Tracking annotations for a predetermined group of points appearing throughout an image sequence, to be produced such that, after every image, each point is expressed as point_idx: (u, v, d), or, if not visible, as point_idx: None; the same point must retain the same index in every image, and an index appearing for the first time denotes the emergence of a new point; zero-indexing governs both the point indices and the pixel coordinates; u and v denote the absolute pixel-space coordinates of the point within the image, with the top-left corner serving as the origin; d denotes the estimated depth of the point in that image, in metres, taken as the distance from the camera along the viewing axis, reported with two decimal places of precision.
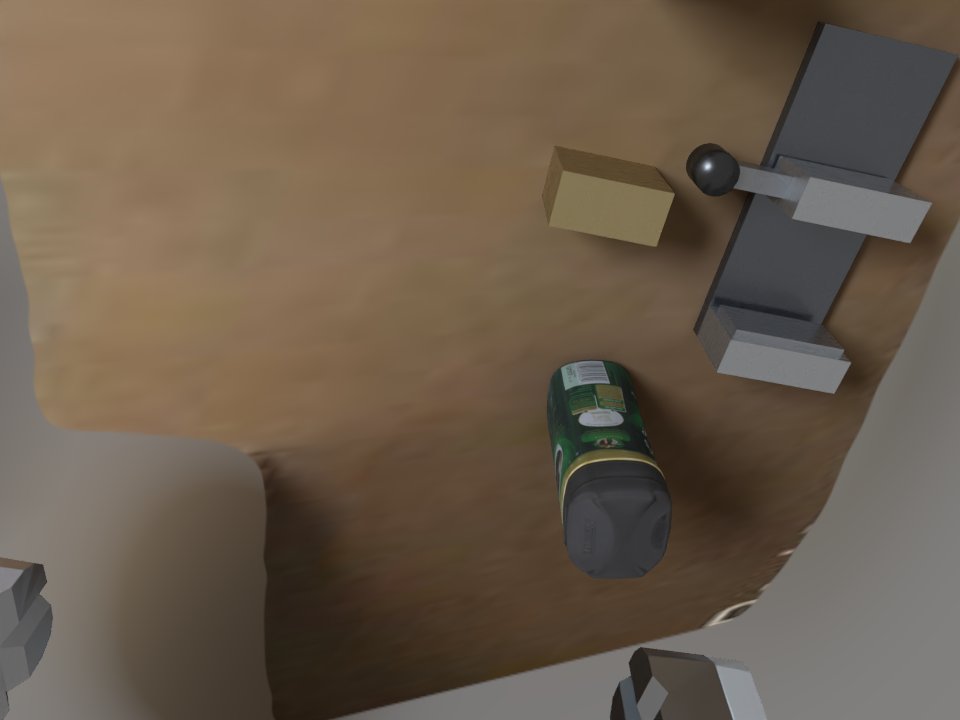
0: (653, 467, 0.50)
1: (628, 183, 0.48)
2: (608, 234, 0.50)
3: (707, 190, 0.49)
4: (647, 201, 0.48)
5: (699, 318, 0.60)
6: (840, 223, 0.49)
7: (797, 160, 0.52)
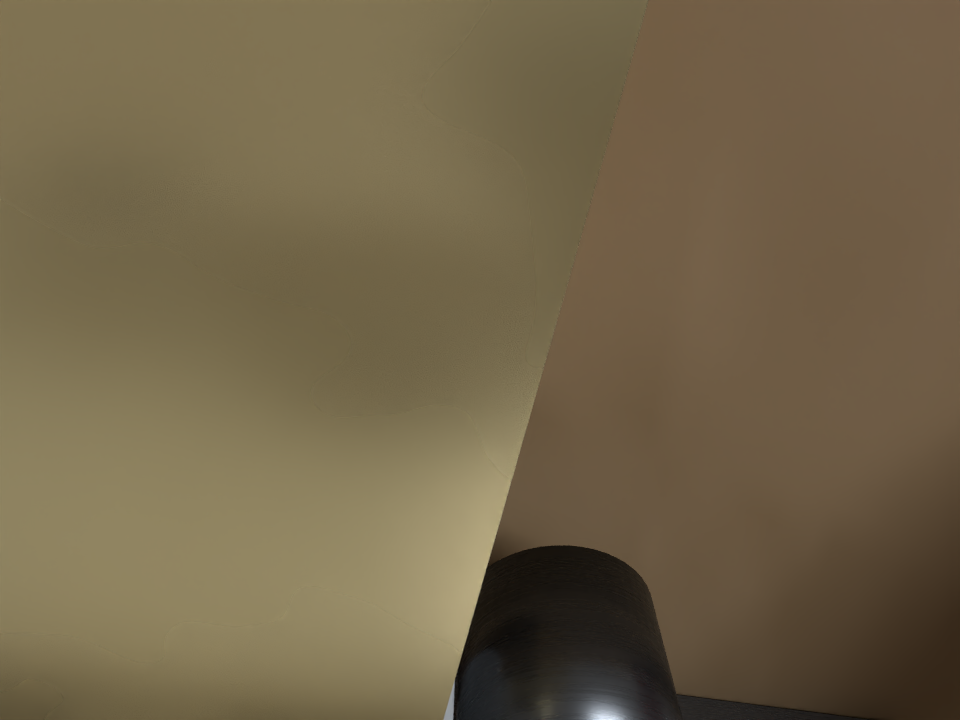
0: None
1: None
2: None
3: None
4: (330, 631, 0.04)
5: None
6: None
7: None
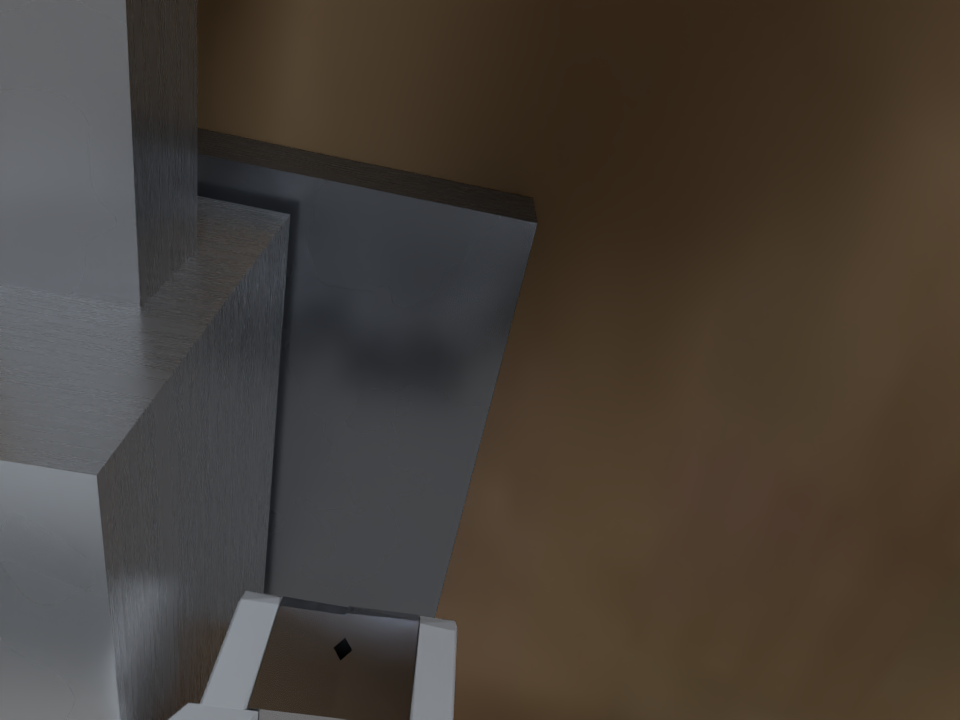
0: None
1: None
2: None
3: None
4: None
5: None
6: None
7: (276, 304, 0.10)
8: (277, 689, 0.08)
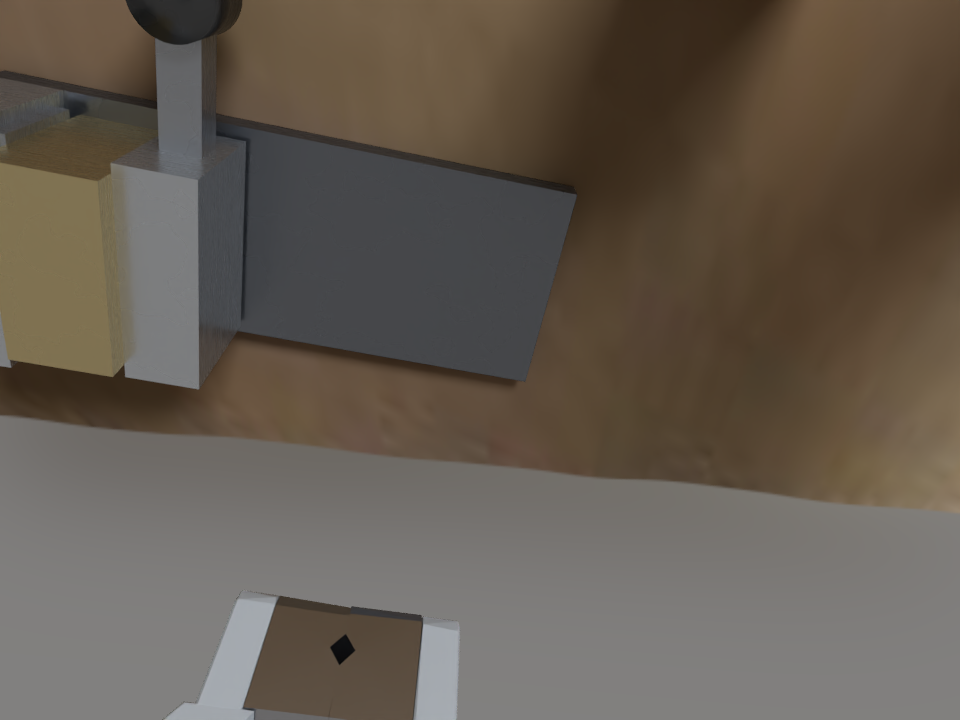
0: None
1: (109, 301, 0.26)
2: (0, 276, 0.25)
3: None
4: (86, 336, 0.27)
5: (31, 78, 0.29)
6: (126, 256, 0.26)
7: (241, 172, 0.30)
8: (273, 688, 0.08)
